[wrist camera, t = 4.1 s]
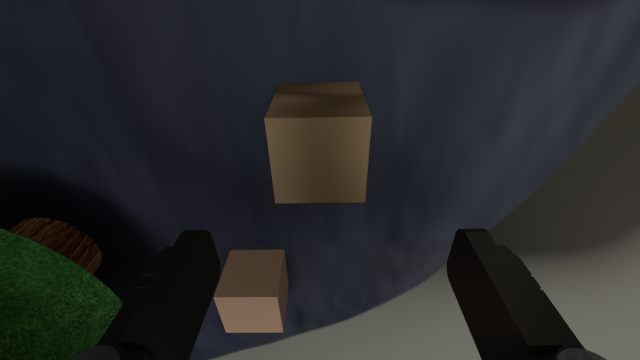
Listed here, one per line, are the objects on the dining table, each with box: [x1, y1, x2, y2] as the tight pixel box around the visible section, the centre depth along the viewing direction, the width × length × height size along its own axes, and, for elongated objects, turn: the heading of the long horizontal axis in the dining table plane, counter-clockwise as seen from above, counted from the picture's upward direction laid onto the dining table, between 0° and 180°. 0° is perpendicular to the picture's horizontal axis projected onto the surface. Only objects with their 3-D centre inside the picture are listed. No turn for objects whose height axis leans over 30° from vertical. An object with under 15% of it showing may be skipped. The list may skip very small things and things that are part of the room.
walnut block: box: [264, 82, 372, 203], centre depth 17 cm, size 5×5×6 cm
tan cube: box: [214, 250, 289, 333], centre depth 26 cm, size 5×5×5 cm
